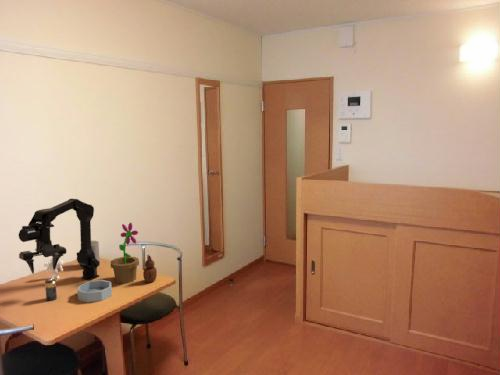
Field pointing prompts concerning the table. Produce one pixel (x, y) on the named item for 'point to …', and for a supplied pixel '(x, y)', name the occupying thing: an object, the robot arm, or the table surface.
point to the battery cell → (50, 289)
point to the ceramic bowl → (94, 291)
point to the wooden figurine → (149, 270)
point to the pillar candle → (95, 249)
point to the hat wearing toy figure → (53, 269)
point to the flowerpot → (125, 259)
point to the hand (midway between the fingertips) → (43, 271)
